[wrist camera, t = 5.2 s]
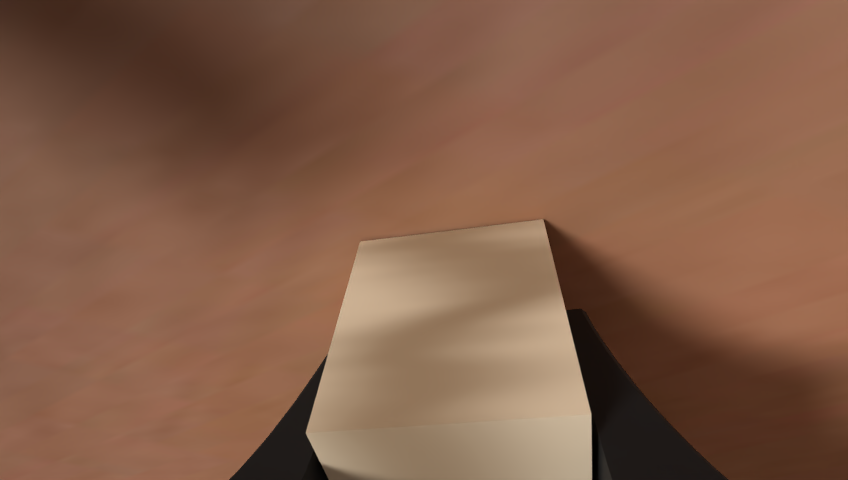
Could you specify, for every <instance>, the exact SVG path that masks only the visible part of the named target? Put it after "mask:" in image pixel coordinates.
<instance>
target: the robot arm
mask: <svg viewBox="0 0 848 480" xmlns="http://www.w3.org/2000/svg"><path fill="white" fill-rule="evenodd" d="M566 313H567V317H568V321H569V325H570V330H571V334H572V338H573V342H574V346H575V350H576V354H577V358H578V362H579V366H580V370H581V374H582V378H583V382H584V386H585V391H586V395H587V399H588V403H589V407H590V411H591V425H592V480H728V479H727V478H726V477H725V476H723V475H722V474H721V473H720V472H719V471H718V470H717V469H715V468H714V467H713V466H712V465H711V464H710V463H709V462H708V461H707V460H706V459H705V458H704V457H703V456H702V455H701V454H700V453H698V452H697V451H696V450H695V449H694V448H693V447H692V446H691V445H690V444H689V443H688V442H687V441H686V440H685V439H684V438H683V437H682V436H681V435H680V434H679V433H678V432H677V431H676V430H675V429H674V428H673V427H672V426H671V424H670V423H669V422H668V421H667V420H666V419H665V418H664V417H663V416H662V415H661V414H660V413H659V411H658V410H657V409H656V408H655V407H654V406H653V405H652V403H651V402H650V401H649V400H648V399H647V398H646V397H645V395H644V394H643V393H642V392H641V391H640V389H639V388H638V387H637V386H636V385H635V383H634V382H633V381H632V380H631V378H630V377H629V376H628V374H627V373H626V372H625V371H624V369H623V368H622V367H621V365H620V364H619V363H618V362H617V360H616V359H615V357H614V356H613V355H612V353H611V352H610V350H609V349H608V348H607V346H606V345H605V343H604V342H603V340H602V339H601V337H600V336H599V334H598V333H597V331H596V329H595V328H594V326H593V324H592V323H591V321H590V319H589V317H588V315H587V313H586V312H585V311H583V310H582V309H574V310H566ZM327 356H328V354H327ZM327 356H326V357H325V359H324V360H323V362H322V363H321V365H320V366H319V368H318V369H317V371H316V372H315V374H314V375H313V377H312V378H311V380H310V381H309V382H308V384H307V385H306V387H305V388H304V390H303V391H302V392H301V394H300V395H299V397H298V398H297V400H296V401H295V402H294V404H293V405H292V406H291V408H290V409H289V410H288V412H287V413H286V414H285V415H284V417H283V418H282V419H281V421H280V422H279V423H278V424H277V426H276V427H275V428H274V430H273V431H272V432H271V433H270V435H269V436H268V437H267V438H266V440H265V441H264V442H263V443H262V444H261V446H260V447H259V448H258V449H257V450H256V451H255V452H254V454H253V455H252V456H251V457H250V458H249V459H248V460H247V461H246V463H245V464H244V465H243V466H242V467H241V468H240V469H239V470H238V471H237V472H236V473H235V474H234V475H233V476H232V477H231V478H230V479H229V480H329V479H328V477H327V475H326V473H325V471H324V469H323V467H322V465H321V463H320V461H319V459H318V457H317V455H316V453H315V451H314V449H313V447H312V445H311V443H310V441H309V439H308V437H307V435H306V430H307V427H308V423H309V420H310V416H311V413H312V409H313V406H314V402H315V399H316V395H317V392H318V388H319V384H320V381H321V377H322V374H323V370H324V367H325V363H326V360H327Z"/></svg>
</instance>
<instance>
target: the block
mask: <svg viewBox="0 0 848 480" xmlns="http://www.w3.org/2000/svg"><path fill="white" fill-rule="evenodd" d="M306 435H307V437H308V439H309V441H310V443H311V445H312V447H313V449H314V451H315V453H316V455H317V457H318V459H319V461H320V463H321V465H322V467H323V469H324V471H325V473H326V475H327V477H328V479H329V480H592V425H591V411H590V407H589V403H588V399H587V395H586V391H585V386H584V382H583V378H582V374H581V370H580V366H579V362H578V358H577V354H576V350H575V346H574V342H573V338H572V334H571V330H570V325H569V321H568V317H567V313H566V309H565V305H564V301H563V297H562V293H561V289H560V285H559V281H558V277H557V273H556V269H555V265H554V260H553V256H552V252H551V248H550V244H549V240H548V236H547V232H546V228H545V224H544V220H543V219H542V220H534V221H525V222H517V223H509V224H501V225H493V226H485V227H476V228H468V229H460V230H452V231H444V232H435V233H427V234H419V235H411V236H403V237H394V238H386V239H378V240H370V241H362V242H360V244H359V248H358V251H357V255H356V258H355V262H354V265H353V269H352V272H351V276H350V279H349V283H348V286H347V290H346V293H345V297H344V300H343V304H342V307H341V311H340V314H339V318H338V321H337V325H336V328H335V332H334V335H333V339H332V342H331V346H330V349H329V353H328V356H327V360H326V363H325V367H324V370H323V374H322V377H321V381H320V384H319V388H318V392H317V395H316V399H315V402H314V406H313V409H312V413H311V416H310V420H309V423H308V427H307V430H306Z"/></svg>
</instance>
